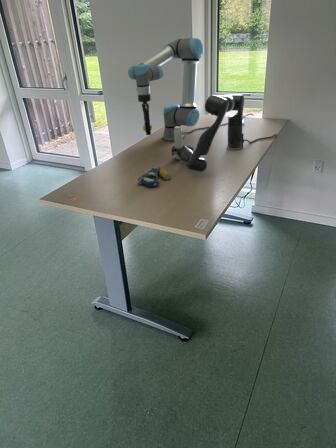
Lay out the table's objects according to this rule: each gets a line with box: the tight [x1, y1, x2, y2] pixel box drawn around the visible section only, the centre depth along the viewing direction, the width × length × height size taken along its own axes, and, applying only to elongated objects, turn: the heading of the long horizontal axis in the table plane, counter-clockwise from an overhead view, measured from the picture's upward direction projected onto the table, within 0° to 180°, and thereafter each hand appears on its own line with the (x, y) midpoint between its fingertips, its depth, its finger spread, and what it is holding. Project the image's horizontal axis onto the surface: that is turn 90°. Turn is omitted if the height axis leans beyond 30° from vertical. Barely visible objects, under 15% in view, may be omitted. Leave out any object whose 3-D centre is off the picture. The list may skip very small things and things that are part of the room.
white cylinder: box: [174, 126, 184, 160], centre depth 206 cm, size 5×5×20 cm
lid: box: [142, 124, 153, 132], centre depth 205 cm, size 5×5×2 cm
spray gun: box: [137, 166, 171, 188], centre depth 184 cm, size 21×4×15 cm
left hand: (148, 133), depth 207 cm, fingers closed on lid, 5 cm apart
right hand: (177, 146), depth 210 cm, fingers closed on white cylinder, 5 cm apart
